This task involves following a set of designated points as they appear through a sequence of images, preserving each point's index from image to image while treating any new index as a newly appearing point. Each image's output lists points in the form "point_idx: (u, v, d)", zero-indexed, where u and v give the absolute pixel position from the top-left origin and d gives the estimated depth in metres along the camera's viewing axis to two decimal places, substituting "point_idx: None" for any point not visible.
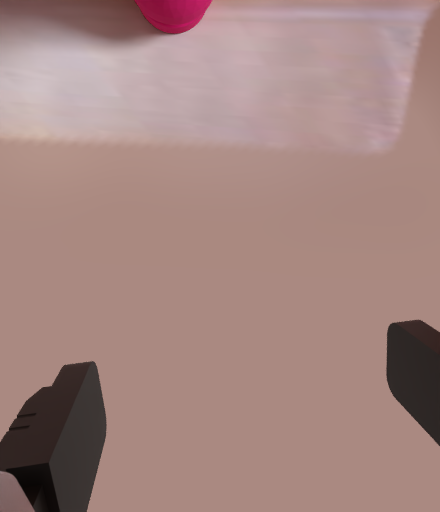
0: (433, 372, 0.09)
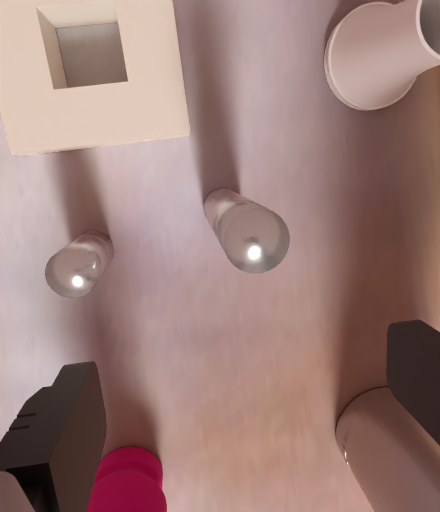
0: (433, 372, 0.09)
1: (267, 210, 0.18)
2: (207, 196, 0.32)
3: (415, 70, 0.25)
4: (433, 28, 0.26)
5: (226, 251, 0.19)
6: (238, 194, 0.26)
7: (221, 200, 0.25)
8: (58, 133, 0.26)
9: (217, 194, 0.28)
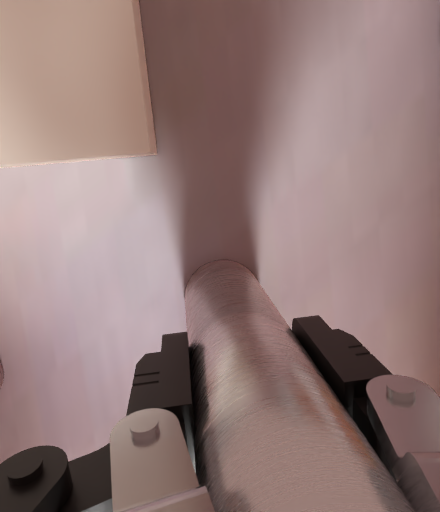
0: (315, 362, 0.10)
1: None
2: (192, 275, 0.16)
3: None
4: None
5: None
6: (262, 311, 0.11)
7: (220, 346, 0.09)
8: None
9: (211, 291, 0.13)
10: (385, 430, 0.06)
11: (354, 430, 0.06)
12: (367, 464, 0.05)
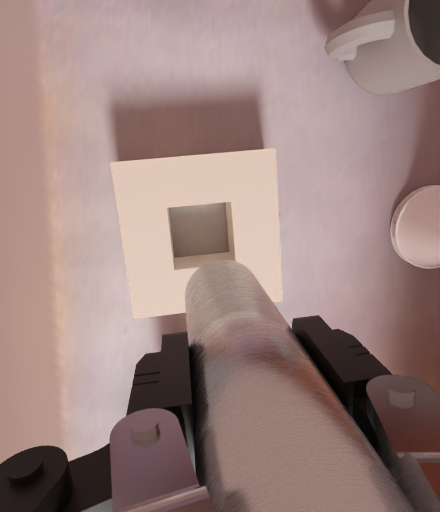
0: (315, 362, 0.10)
1: None
2: None
3: None
4: None
5: None
6: (262, 310, 0.11)
7: (220, 345, 0.09)
8: (174, 302, 0.30)
9: (211, 291, 0.13)
10: (385, 430, 0.06)
11: (354, 429, 0.06)
12: (367, 463, 0.05)
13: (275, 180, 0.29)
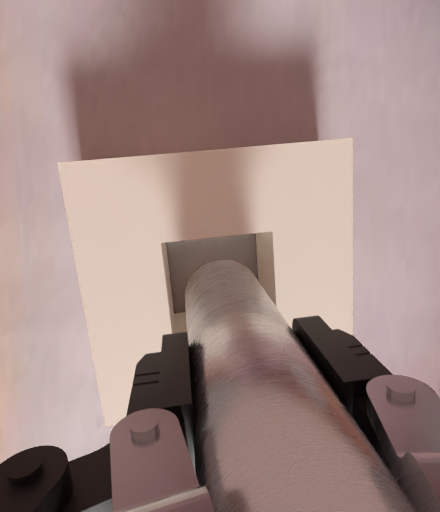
0: (315, 362, 0.10)
1: None
2: (192, 274, 0.16)
3: None
4: None
5: None
6: (262, 310, 0.11)
7: (220, 345, 0.09)
8: None
9: (211, 290, 0.13)
10: (385, 430, 0.06)
11: (354, 428, 0.06)
12: (367, 462, 0.05)
13: (349, 194, 0.17)
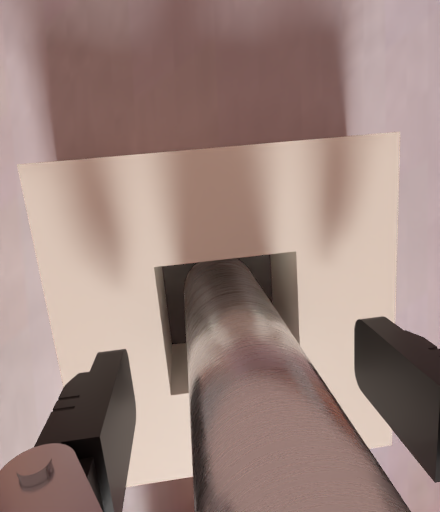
0: (391, 366, 0.09)
1: None
2: (191, 269, 0.17)
3: None
4: None
5: None
6: (254, 299, 0.12)
7: (214, 329, 0.10)
8: (171, 459, 0.14)
9: (208, 282, 0.14)
10: None
11: (328, 396, 0.07)
12: (335, 420, 0.06)
13: (394, 204, 0.13)
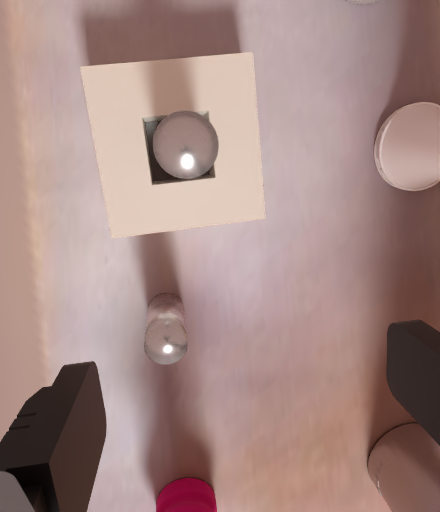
0: (433, 372, 0.09)
1: (195, 113, 0.18)
2: None
3: None
4: None
5: (155, 155, 0.19)
6: None
7: None
8: (153, 220, 0.29)
9: None
10: None
11: None
12: None
13: (253, 87, 0.28)
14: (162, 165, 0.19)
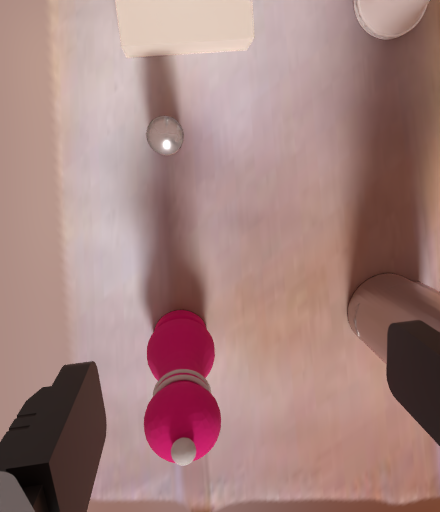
0: (433, 372, 0.09)
1: None
2: None
3: None
4: None
5: None
6: None
7: None
8: (157, 32, 0.34)
9: None
10: None
11: None
12: None
13: None
14: None
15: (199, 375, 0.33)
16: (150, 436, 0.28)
